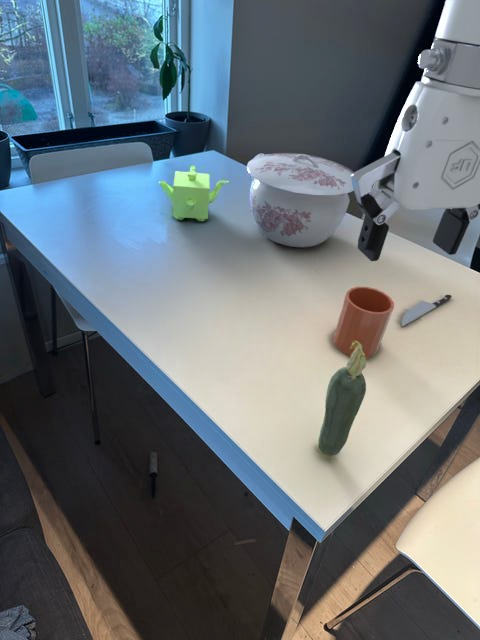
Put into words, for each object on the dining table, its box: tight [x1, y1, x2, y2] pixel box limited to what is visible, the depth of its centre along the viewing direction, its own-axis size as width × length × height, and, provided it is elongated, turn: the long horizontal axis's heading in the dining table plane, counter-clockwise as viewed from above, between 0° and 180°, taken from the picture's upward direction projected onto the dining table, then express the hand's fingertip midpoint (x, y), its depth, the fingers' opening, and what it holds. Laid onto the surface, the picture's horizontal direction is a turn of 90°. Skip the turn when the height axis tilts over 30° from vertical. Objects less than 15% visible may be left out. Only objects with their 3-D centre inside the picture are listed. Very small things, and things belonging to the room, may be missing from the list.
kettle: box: [158, 164, 230, 222], centre depth 117 cm, size 15×14×11 cm
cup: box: [332, 286, 395, 359], centre depth 80 cm, size 8×8×10 cm
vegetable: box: [317, 341, 367, 457], centre depth 56 cm, size 4×4×20 cm
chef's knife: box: [400, 294, 453, 327], centre depth 94 cm, size 19×1×3 cm
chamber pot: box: [246, 152, 355, 248], centre depth 111 cm, size 28×28×21 cm
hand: (406, 251), depth 47 cm, fingers open, 9 cm apart
